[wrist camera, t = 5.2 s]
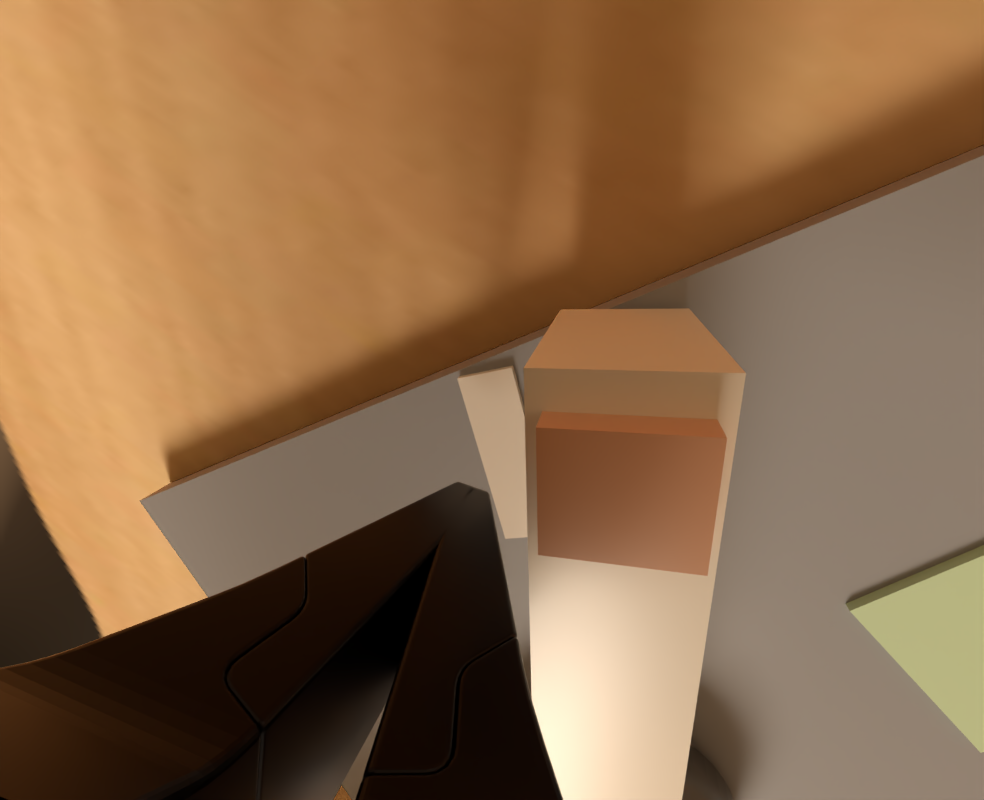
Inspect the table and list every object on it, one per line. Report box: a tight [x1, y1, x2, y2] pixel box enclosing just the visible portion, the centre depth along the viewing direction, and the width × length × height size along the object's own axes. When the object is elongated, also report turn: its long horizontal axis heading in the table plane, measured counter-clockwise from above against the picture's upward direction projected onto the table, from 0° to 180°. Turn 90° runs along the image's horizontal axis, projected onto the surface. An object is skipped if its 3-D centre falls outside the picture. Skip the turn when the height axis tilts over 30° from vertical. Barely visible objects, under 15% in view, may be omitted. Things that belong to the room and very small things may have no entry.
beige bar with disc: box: [523, 308, 746, 800], centre depth 9 cm, size 17×7×4 cm, turn 4°
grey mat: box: [140, 145, 984, 800], centre depth 13 cm, size 23×23×1 cm
